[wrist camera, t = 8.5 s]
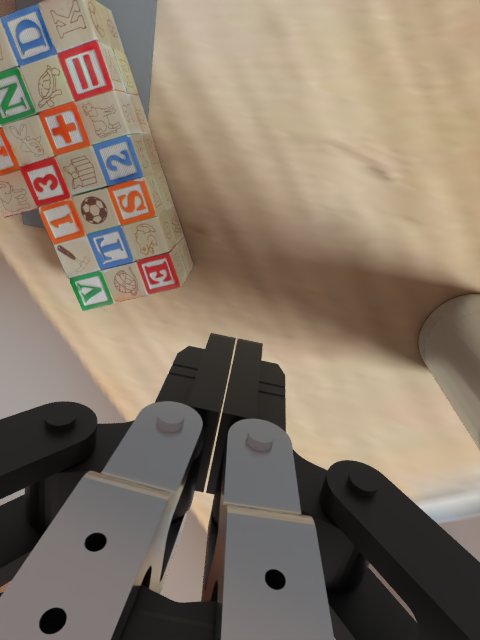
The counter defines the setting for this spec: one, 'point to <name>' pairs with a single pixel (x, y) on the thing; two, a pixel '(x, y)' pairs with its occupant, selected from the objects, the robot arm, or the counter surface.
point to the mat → (137, 39)
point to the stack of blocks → (85, 153)
